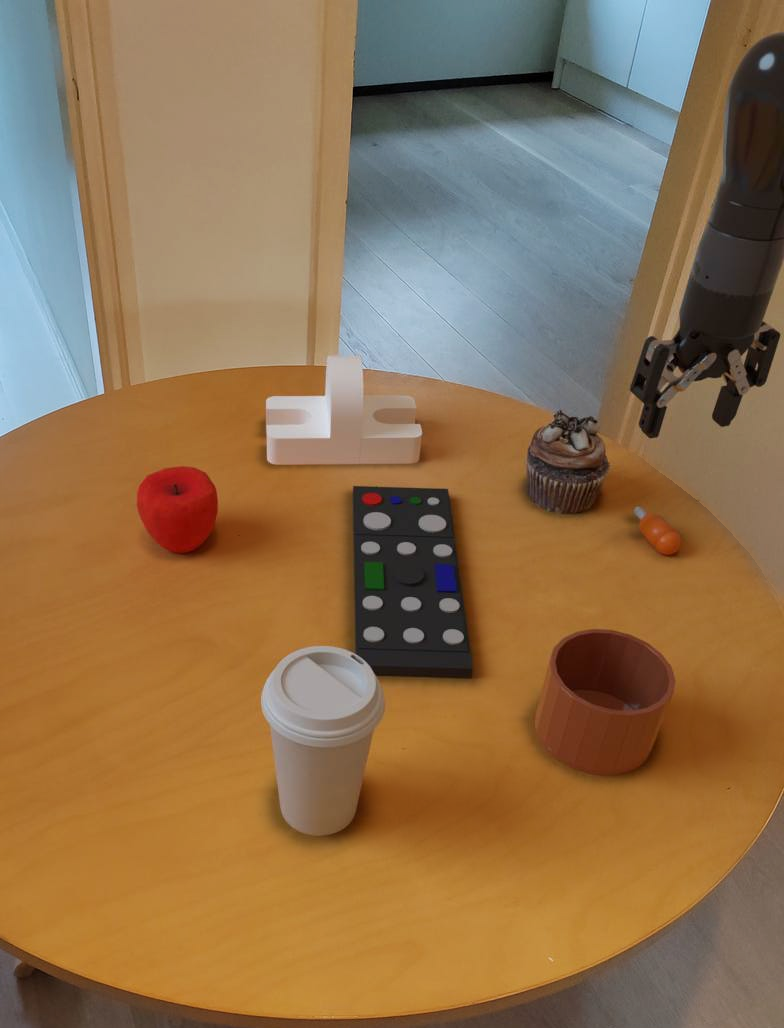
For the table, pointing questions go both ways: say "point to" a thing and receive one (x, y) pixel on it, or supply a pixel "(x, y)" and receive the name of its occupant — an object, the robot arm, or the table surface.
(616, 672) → the utensil cup
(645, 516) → the orange double-bulb handle
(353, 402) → the bracket
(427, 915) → the table surface
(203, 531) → the apple
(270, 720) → the coffee cup
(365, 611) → the remote control
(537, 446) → the cupcake
